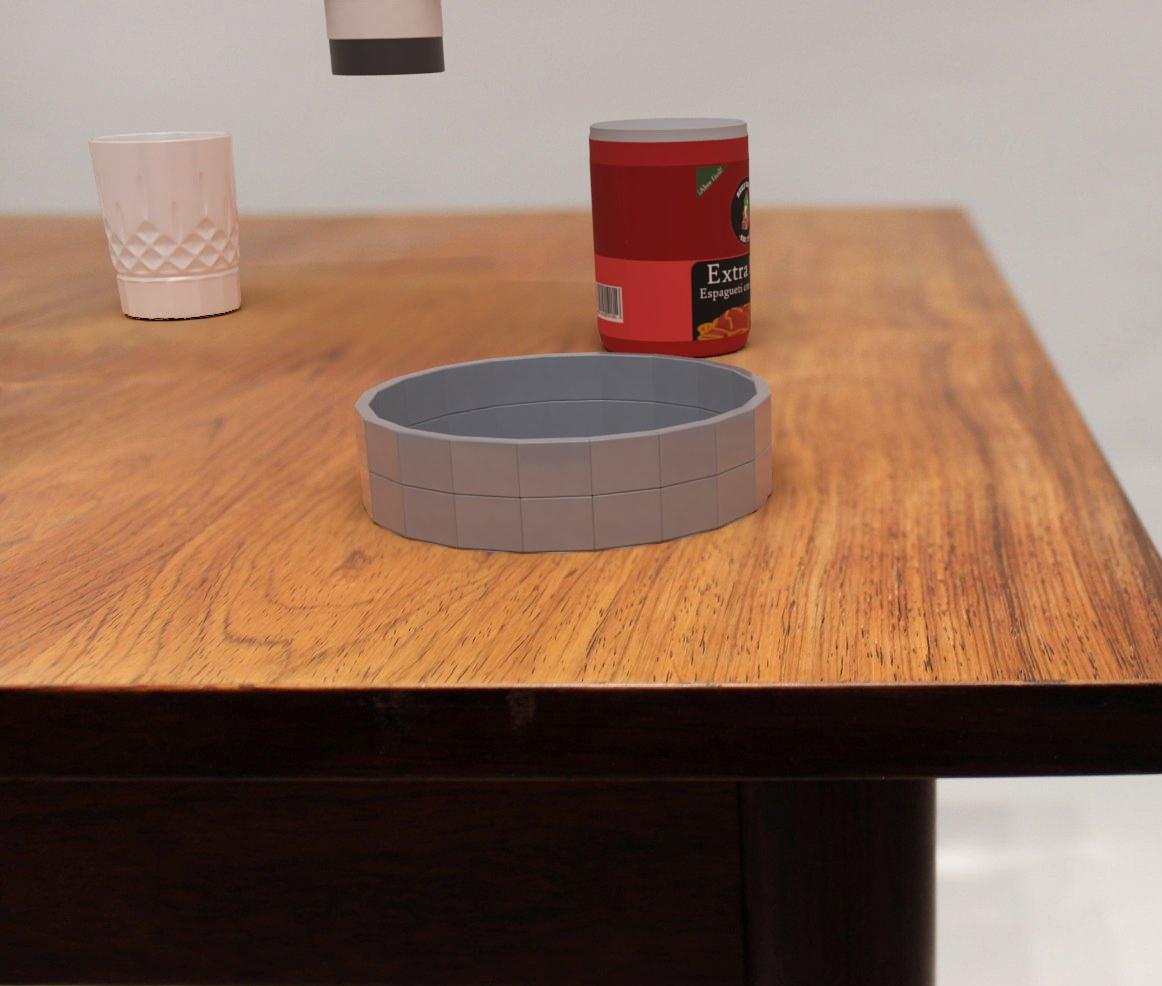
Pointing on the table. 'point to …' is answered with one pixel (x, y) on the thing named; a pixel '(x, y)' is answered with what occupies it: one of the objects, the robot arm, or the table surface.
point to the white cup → (170, 220)
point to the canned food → (671, 235)
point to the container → (385, 37)
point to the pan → (564, 451)
